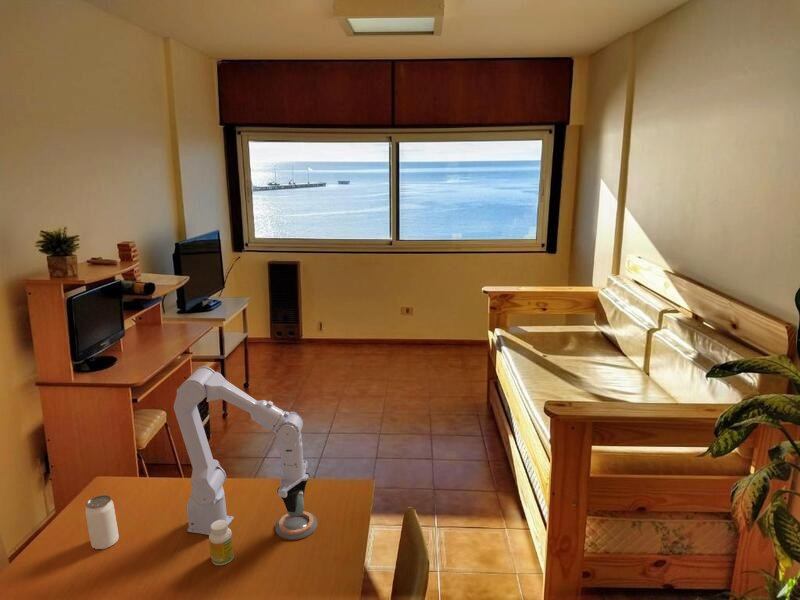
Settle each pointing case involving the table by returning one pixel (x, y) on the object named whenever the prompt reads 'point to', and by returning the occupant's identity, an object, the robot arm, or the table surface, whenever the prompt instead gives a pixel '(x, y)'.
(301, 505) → the cylinder with tan strip
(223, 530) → the supplement bottle
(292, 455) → the robot arm
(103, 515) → the can
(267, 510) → the table surface
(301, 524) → the socket
